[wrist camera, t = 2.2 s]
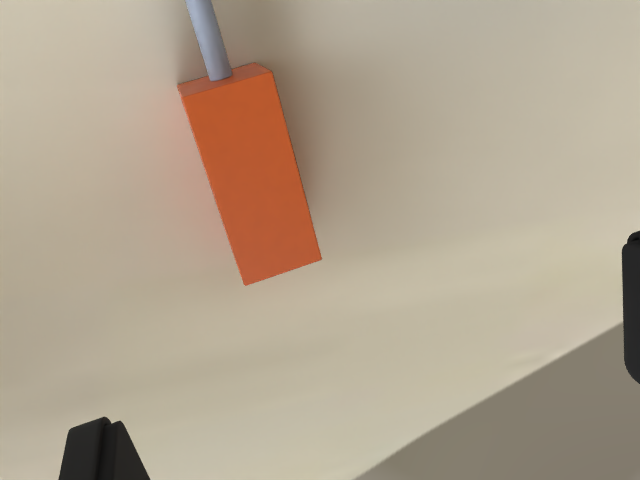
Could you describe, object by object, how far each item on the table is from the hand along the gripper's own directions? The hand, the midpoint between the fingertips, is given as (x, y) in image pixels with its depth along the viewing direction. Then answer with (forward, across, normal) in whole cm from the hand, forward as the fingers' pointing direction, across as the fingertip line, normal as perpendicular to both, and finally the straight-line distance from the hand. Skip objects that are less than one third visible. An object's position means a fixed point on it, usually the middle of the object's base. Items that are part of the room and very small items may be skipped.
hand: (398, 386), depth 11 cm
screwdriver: (+15, +1, -3) cm, 15 cm away
